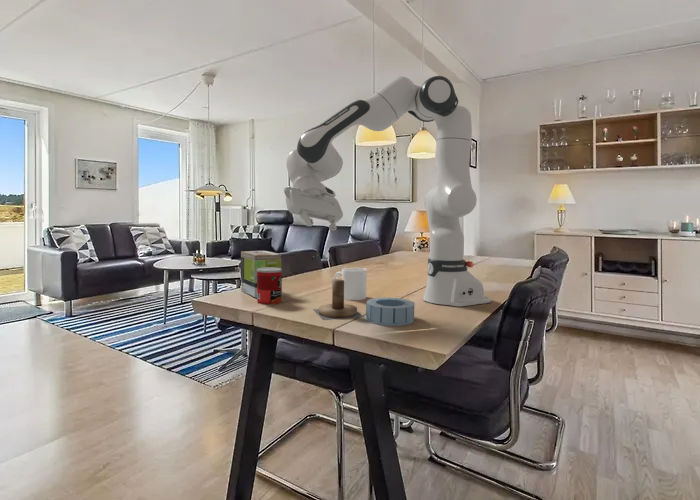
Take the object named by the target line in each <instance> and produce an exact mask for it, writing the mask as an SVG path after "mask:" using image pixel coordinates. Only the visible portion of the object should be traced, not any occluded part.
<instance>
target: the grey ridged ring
mask: <svg viewBox="0 0 700 500" xmlns="http://www.w3.org/2000/svg"><path fill="white" fill-rule="evenodd" d="M415 304H416V303H415V302H414V301H412V300H410V299H405V298H399V297H385V296H384V297H376V298H370V299H368V300H367V301H366V302H365V318H366V321H368V322H369V323H371V324H374V325H379V326H389V327H398V326H400V327H401V326H407V325H410V324H412V323H414V322H415V321H414V320H415V307H416V306H415Z"/></svg>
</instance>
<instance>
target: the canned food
mask: <svg viewBox="0 0 700 500" xmlns="http://www.w3.org/2000/svg"><path fill="white" fill-rule="evenodd" d="M282 278H283V271H282V267H281V268H276V267H264V268H258V269H257V298H256V301H257V304H262V305H275V304H279V303H281V302H282V301H283V300H282V298H283V295H282V294H283V290H282V289H283V288H282V287H283V284H282V283H283V279H282Z"/></svg>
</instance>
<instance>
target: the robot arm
mask: <svg viewBox="0 0 700 500" xmlns="http://www.w3.org/2000/svg"><path fill="white" fill-rule="evenodd" d="M458 104H459V99H458V96H457V94H456V91H455V88H454V85H453V84H452V82H451V80H450V79H448V78H447V77H445V76H442V75H435V76H432V77H429V78H428V79H426V80H425V81H424V82H423V83H422V85H420V86H419V85H417V84H414V82H413V81H412V80H411V79H410V78H408V77H406V76H401V75H400V76H397V77H396V78H394V79H391V81H389V82H387V83H386V84H385V85H383V86H382V87H380V88H379V89H378V90H377V91H375V92H374V94H372V95H371V96H369V97H367V98H365V99H357V100H355V101H352V102H351V103H349V104H348V105H346V106H345V107H343V108H341V109H340V110H339V111H337V112H335V113H334V114H333V115H332V116H330V117H329V118H327V119H326V120H324V121H323V122H321V123H320V124H318V125H316V126H315V127H312V128H310V129H307V130H306V131H304V132H303V133H302V134H301V135H300V137H299V138H298V142H297V146H296V149H293V150H292V151H291V152H289V154H288V155H287V157H286V162H285V163H286V164H285V165H286V169H287V174H288V177H289V180H290V182H291V183H292V187H291V186H287V187H285V188H284V189H283V193H284V196H285V203H286V209H287V211H288V212H289V213H290V214H292V215H298V216H299V218H300V219H302V220H303V222H304V223H305V226H306V227H312V226H313V225H314V220H313V219H316V220H322V221H327V222H328V223H329V224H330V225H328V228H329V231H333V232H335V231H336V230H337V228H338V227H337V225H336V224H337V223H339V221H340V220H341V219H342V218H343V217H344V213H343V212H344V211H343V210H342V207H341V205H340V203H339V201H338V199H337V198H336V196H337V195H336V192H335V191H334V190H333V189H331V188H329V187H327V186H326V185H324V183H322V182H324V181H327V180H329V179H332V178H334V177H336V176H337V175H338V174H339V173H340V172H341V171H342V168H343V164H344V163H343V162H344V161H343V158H342V156H341V155H340V153H339V152H338V150H337V149H336V148H335V147H334V145H333V143H332V142H333V141H334V140H335V139H336V138H337V137H339V136H340V135H342V134H343V133H344V132H345V131H347V130H349V129H350V128H352V127H353V126H358V125H359V126H363V127H364V128H367V129H368V130H371V131H373V132H383V131H385V130H387V129H388V128H390V127H391V126H392V125H393V124H395V122H397V121H398V120H399V119H400V118H401V117H402V116H404V115H405V114H406V113H408V114H410V115H411V116H413V117H414V118H415V119H417V120H419V121H420V122H424V123H430V122H435V124H436V127H437V128H436V129H437V130H436V131H437V134H436V143H435V155H434V157H435V158H434V167H435V169H436V173H437V181H438V182H437V183H438V184H437V185H435V186H433V187H432V188H431V189H430V190H428V191H427V192H426V194H425V196H424V198H423V205H424V208H425V209H426V210H425V211H426V215H427V223H428V224H427V225H428V230H429V255H428V259H427V281H426V288H425V291H424V294H423V298H422V300H423V301H425V302H427V303H431V304H437V305H444V306H452V307H457V308H458V307H467V306H468V307H469V306H474V305H480V304H481V305H482V304H487V303H488V304H489V303H491V302H492V300H491V298H490V297H489V296H486V295H485V289H484V286H483V283H482V282H481V281H480V280H479V279H478V278H477V277H476V276H474V275H473V274H472V273H471V272H470V271H469V270H468V268H473V267H474V265H475V263H474V262H473V261H471V260H467V261H466V260H465V259H464V250H465V249H464V247H465V245H464V243H465V236H464V233H463V230H462V228H461V223H460V218H462V217H466V216H467V215H468V214H470V213H472V212H473V210H474V209H475V207H476V205H477V194H476V192H475V190H474V189H473V186H472V180H471V179H472V178H471V171H470V163H471V162H470V160H471V159H470V157H471V148H472V137H473V136H472V133H473V132H472V130H473V128H472V125H473V124H472V116H471V115H472V114H471V112H470V110H469V109H468V108H467V107H465V106H462V105H458Z"/></svg>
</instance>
